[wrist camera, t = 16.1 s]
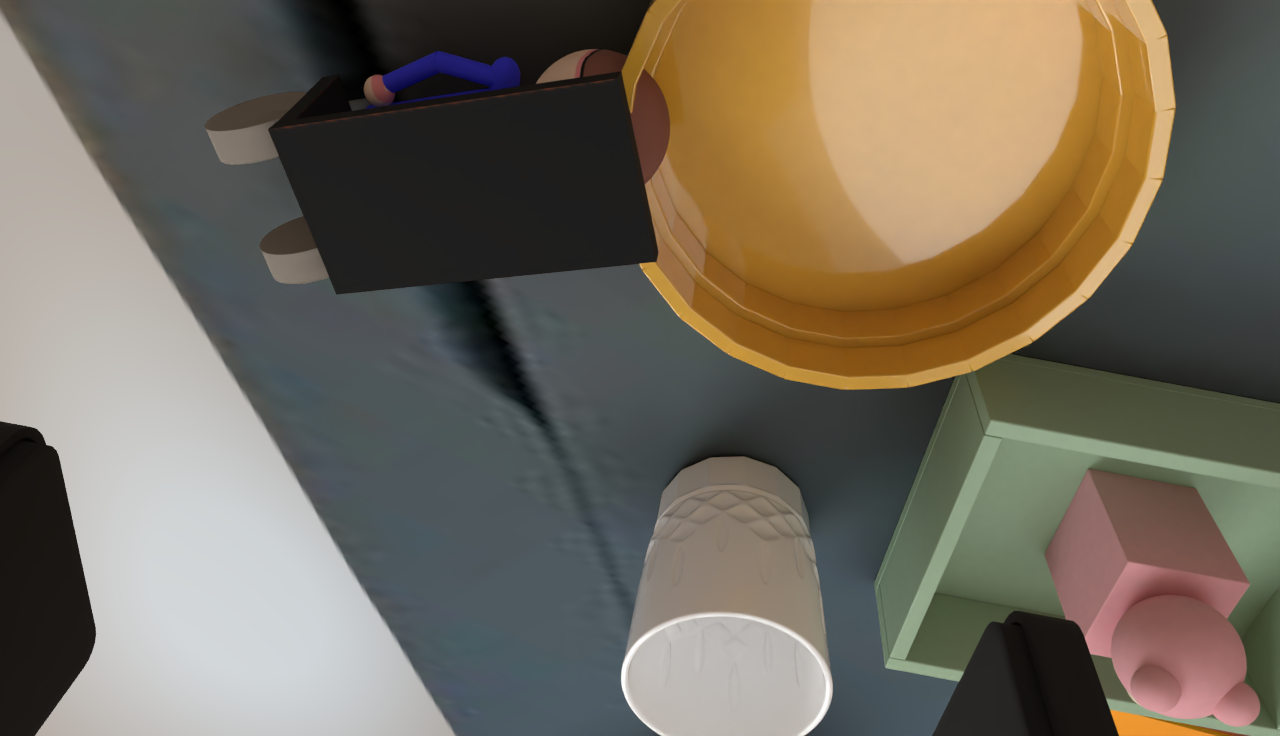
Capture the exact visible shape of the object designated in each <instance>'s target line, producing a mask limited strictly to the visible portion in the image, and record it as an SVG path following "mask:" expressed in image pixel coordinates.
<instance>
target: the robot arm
mask: <svg viewBox="0 0 1280 736" xmlns="http://www.w3.org/2000/svg"><path fill="white" fill-rule="evenodd" d="M95 637H96V628H95V623H94V619H93V614H92V609H91V604H90V600H89V595H88V590H87V586H86V581H85V576H84V572H83V567H82V563H81V558H80V554H79V548H78V544H77V539H76V534H75V530H74V526H73V520H72V516H71V511H70V506H69V502H68V498H67V493H66V488H65V483H64V478H63V474H62V469H61V464H60V460H59V456H58V453H57V451H56V450H55V449H54V448H53V447H52V446H48V445H46V443H45V440H44V438H43V435H42V434H41V433H40V432H39V431H38V430H37V429H35V428H32V427H27V426H22V425H17V424H11V423H6V422H0V736H35V735H36V733H37V732H38V730H39V729H40V728H41V726H42V725H43V723H44V722H45V720H46V719H47V718H48V717H49V715H50V714H51V712H52V711H53V710H54V708H55V707H56V705H57V704H58V702H59V701H60V700H61V698H62V697H63V695H64V694H65V693H66V692H67V690H68V689H69V687H70V686H71V685H72V683H73V682H74V680H75V679H76V678H77V676H78V675H79V674H80V672H81V671H82V669H83V668H84V666H85V664H86V663H87V661H88V660H89V658H90V655H91V653H92V650H93V647H94V643H95ZM933 736H1119V734H1118V731H1117V728H1116V726H1115V723H1114V720H1113V717H1112V714H1111V711H1110V708H1109V706H1108V703H1107V700H1106V697H1105V694H1104V691H1103V689H1102V686H1101V683H1100V680H1099V677H1098V674H1097V671H1096V669H1095V666H1094V663H1093V660H1092V657H1091V654H1090V651H1089V649H1088V646H1087V643H1086V640H1085V637H1084V634H1083V632H1082V630H1081V629H1080V627H1079V625H1078V624H1076V623H1075V622H1074V621H1071V620H1066V619H1060V618H1055V617H1050V616H1044V615H1039V614H1034V613H1028V612H1023V611H1013V612H1012V613H1010V614H1009V615H1008V617H1007V618H1006V620H1005V621H1004V623H1001V622H994V621H992V622H991V623H989V624H988V626H987V627H986V629H985V630H984V633H983V635H982V637H981V639H980V641H979V643H978V645H977V647H976V649H975V651H974V653H973V655H972V657H971V659H970V661H969V663H968V665H967V667H966V669H965V671H964V673H963V675H962V677H961V679H960V681H959V683H958V685H957V687H956V689H955V691H954V693H953V695H952V697H951V699H950V701H949V703H948V705H947V707H946V709H945V711H944V713H943V715H942V717H941V719H940V721H939V723H938V725H937V727H936V730H935V732H934V734H933Z"/></svg>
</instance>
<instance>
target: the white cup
mask: <svg viewBox="0 0 1280 736" xmlns="http://www.w3.org/2000/svg"><path fill="white" fill-rule="evenodd" d="M621 684H622V689H623V693H624V696H625V698H626V700H627V702H628V704H629V706H630V707H631V709H632V710H633V712H634V713H635V714H636V715H637V717H638V718H639V719H640V720H641V721H642V722H643V723H644V724H646V725H647V726H648V727H649V728H651V729H652V730H653V731H655V732H656V733H658V734H659V735H661V736H805V735H806V734H808V733H809V732H810V731H811V730H813V729H814V728H815V727H816V726H817V725H818V724H819V722H820V721H821V720H822V719H823V717H824V716H825V714H826V712H827V711H828V708H829V706H830V703H831V699H832V694H833V682H832V675H831V667H830V659H829V652H828V643H827V635H826V627H825V619H824V610H823V602H822V595H821V590H820V583H819V577H818V572H817V564H816V557H815V551H814V546H813V542H812V539H811V535H810V526H809V517H808V512H807V509H806V506H805V504H804V501H803V498H802V495H801V492H800V489H799V487H798V486H797V485H795V484H794V483H793V482H792V481H791V480H790V479H789V478H788V477H787V476H785V475H784V474H783V473H782V472H781V471H780V470H779V469H778V468H776V467H774V466H771V465H768V464H766V463H763V462H760V461H757V460H754V459H751V458H748V457H745V456H739V457H711V458H708V459H705V460H703V461H701V462H699V463H696V464H694V465H692V466H689V467H687V468H685V469H682V470H681V471H680V472H679V473H678V474H677V475H676V477H675V478H674V479H673V480H672V481H671V482H670V484H669V485H668V486H667V487H666V488H665V489H664V491H663V492H662V496H661V502H660V507H659V512H658V517H657V522H656V526H655V529H654V533H653V536H652V538H651V540H650V541H649V547H648V550H647V554H646V558H645V562H644V566H643V572H642V576H641V579H640V583H639V587H638V592H637V598H636V603H635V608H634V612H633V617H632V622H631V627H630V632H629V636H628V641H627V646H626V651H625V656H624V661H623V665H622V671H621Z"/></svg>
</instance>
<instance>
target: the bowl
mask: <svg viewBox="0 0 1280 736" xmlns="http://www.w3.org/2000/svg"><path fill="white" fill-rule="evenodd" d="M643 69H645V70H646V71H647V72H648V73H649V74H650V75H651V77H652V78H654V79H655V81H656V82H657V84H658V85H659V87H660V89H661V90H662V93H663V95H664V97H665V100H666V103H667V106H668V110H669V117H670V137H669V143H668V148H667V151H666V154H665V156H664V159H663V161H662V163H661V165H660V166H659V168H658V170H657V171H656V173H655V174H654V175H653V176H652V178H651V179H650V180H649V181H648V182H647V183H646V184H645V188H646V193H647V198H648V203H649V207H650V212H651V217H652V222H653V227H654V232H655V236H656V241H657V246H658V251H659V254H658V258H657V262H650V263H640V264H639V265H640V267H641V269H642V270H643V272H644V273H645V275H646V276H647V277H648V278H649V280H650V281H651V282H652V283H653V285H654V286H655V287H656V289H657V290H658V291H659V292H660V294H661V295H662V296H663V297H664V299H665V300H666V301H667V303H668V304H669V305H670V306H671V308H672V309H673V310H674V311H675V313H676V314H677V315H678V316H679V317H680V318H681V319H682V320H683V321H685V322H686V323H687V324H688V325H690V326H691V327H692V328H694V329H695V330H696V331H698V332H699V333H700V334H702V335H703V336H704V337H706V338H707V339H708V340H709V341H711V342H712V343H713V344H715V345H716V346H717V347H719V348H720V349H721V350H723V351H724V352H725V353H728V354H729V355H730V356H733V357H735V358H737V359H740V360H742V361H744V362H747V363H749V364H751V365H753V366H756V367H758V368H760V369H763V370H765V371H767V372H770V373H772V374H774V375H776V376H779V377H781V378H783V377H784V379H787V380H793V381H798V382H803V383H809V384H814V385H820V386H825V387H831V388H836V389H841V390H844V389H846V390H856V389H886V388H908V386H909V387H914V386H918V385H922V384H926V383H930V382H934V381H938V380H942V379H946V378H950V377H954V376H958V375H962V374H966V373H970V372H972V371H975V370H978V369H980V368H982V367H984V366H986V365H988V364H990V363H992V362H994V361H996V360H998V359H1000V358H1002V357H1004V356H1006V355H1008V354H1010V353H1012V352H1015V351H1017V350H1019V349H1021V348H1023V347H1025V346H1027V345H1029V344H1031V343H1032V342H1033V341H1036V340H1037V339H1038V338H1040V337H1041V336H1042V335H1043V334H1045V333H1046V332H1047V331H1049V330H1050V329H1051V328H1052V327H1054V326H1055V325H1056V324H1057V323H1059V322H1060V321H1061V320H1063V319H1064V318H1065V317H1066V316H1068V315H1069V314H1070V313H1071V312H1073V311H1074V310H1075V309H1077V308H1078V307H1079V306H1080V305H1082V304H1083V303H1084V302H1085V301H1087V299H1089V298H1090V297H1091V296H1092V295H1093V293H1094V292H1095V291H1096V290H1097V288H1098V287H1099V286H1100V285H1101V284H1102V282H1103V281H1104V280H1105V279H1106V277H1107V276H1108V275H1109V274H1110V272H1111V271H1112V270H1113V269H1114V267H1115V266H1116V265H1117V264H1118V263H1119V261H1120V260H1121V259H1122V258H1123V256H1124V255H1125V254H1126V253H1127V251H1128V250H1129V249H1130V248H1131V246H1132V245H1133V244H1132V243H1134V241H1135V239H1136V237H1137V235H1138V232H1139V230H1140V228H1141V226H1142V224H1143V222H1144V220H1145V218H1146V215H1147V213H1148V211H1149V209H1150V207H1151V205H1152V203H1153V200H1154V198H1155V196H1156V194H1157V192H1158V190H1159V188H1160V186H1161V183H1162V181H1163V179H1162V178H1164V174H1165V168H1166V162H1167V156H1168V151H1169V145H1170V139H1171V134H1172V128H1173V122H1174V116H1175V111H1176V109H1175V107H1176V100H1175V91H1174V83H1173V74H1172V66H1171V58H1170V49H1169V41H1168V35H1167V31H1166V29H1165V27H1164V25H1163V23H1162V21H1161V18H1160V16H1159V14H1158V12H1157V10H1156V8H1155V6H1154V3H1153V1H1152V0H651V2H650V4H649V6H648V9H647V11H646V13H645V16H644V18H643V20H642V23H641V25H640V27H639V29H638V32H637V34H636V36H635V39H634V41H633V43H632V46H631V48H630V51H629V53H628V56H627V58H626V61H625V63H624V65H623V68H622V70H621V72H622V76H623V81H624V86H625V91H626V96H627V101H628V106H629V110H630V113H632V112H633V107H634V102H635V97H636V92H637V87H638V83H639V79H640V76H641V74H642V71H643Z"/></svg>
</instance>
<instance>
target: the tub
mask: <svg viewBox="0 0 1280 736" xmlns="http://www.w3.org/2000/svg"><path fill="white" fill-rule="evenodd" d="M1088 469H1094V470H1100V471H1105V472H1110V473H1116V474H1121V475H1127V476H1132V477H1137V478H1143V479H1148V480H1154V481H1159V482H1164V483H1170V484H1175V485H1181V486H1186V487H1191V488H1196V489H1197V491H1198V492H1199V494H1200V496H1201V498H1202V499H1203V501H1204V503H1205V505H1206V506H1207V508H1208V510H1209V512H1210V514H1211V515H1212V517H1213V519H1214V521H1215V522H1216V524H1217V526H1218V528H1219V529H1220V531H1221V533H1222V535H1223V537H1224V538H1225V540H1226V542H1227V544H1228V545H1229V547H1230V549H1231V551H1232V552H1233V554H1234V556H1235V558H1236V559H1237V561H1238V563H1239V565H1240V567H1241V568H1242V570H1243V572H1244V574H1245V575H1246V577H1247V579H1248V581H1249V582H1250V586H1249V587H1248V589H1247V590H1246V591H1245V593H1244V594H1243V596H1242V597H1241V599H1240V600H1239V602H1238V603H1237V605H1236V606H1235V608H1234V609H1233V611H1232V612H1231V613H1230V615H1229V616H1228V618H1227V620H1228V621H1229V622H1230V623H1231V624H1232V626H1233V627H1234V628H1235V630H1236V631H1237V633H1238V635H1239V637H1240V639H1241V641H1242V643H1243V646H1244V650H1245V654H1246V663H1247V670H1246V676H1245V680H1244V683H1246V684H1247V685H1249V686H1250V687H1251V688H1252V689H1253V690H1254V691H1255V693H1256V694H1257V696H1258V698H1259V702H1260V712H1259V715H1258V717H1257V718H1256V719H1255V720H1254V721H1253V722H1252V723H1251V724H1249V725H1246V726H1242V727H1235V726H1230V725H1227V724H1225V723H1223V722H1221V721H1220V720H1218V719H1217V718H1216V717H1215V716H1214V715H1213V714H1212V715H1210V716H1207V717H1203V718H1197V719H1179V718H1172V717H1168V716H1165V715H1162V714H1159V713H1157V712H1154V711H1150V710H1147V709H1145V708H1144V707H1142V706H1140V705H1138V704H1137V703H1136V702H1134V701H1133V700H1132V698H1131V697H1130V696H1129V694H1128V692H1127V690H1126V689H1125V687H1124V686H1123V684H1122V683H1121V681H1120V679H1119V678H1118V676H1117V674H1116V671H1115V668H1114V665H1113V662H1112V658H1110V657H1104V656H1099V655H1093V654H1091V657H1092V660H1093V663H1094V666H1095V669H1096V671H1097V674H1098V677H1099V680H1100V683H1101V686H1102V689H1103V691H1104V694H1105V697H1106V700H1107V703H1108V706H1109V708H1110V710H1115V711H1120V712H1125V713H1131V714H1136V715H1142V716H1147V717H1152V718H1158V719H1163V720H1168V721H1174V722H1179V723H1185V724H1190V725H1195V726H1201V727H1206V728H1211V729H1217V730H1222V731H1227V732H1233V733H1238V734H1244V735H1249V736H1280V404H1278V403H1273V402H1267V401H1262V400H1257V399H1251V398H1246V397H1240V396H1235V395H1229V394H1224V393H1219V392H1213V391H1208V390H1202V389H1197V388H1192V387H1186V386H1181V385H1175V384H1170V383H1164V382H1159V381H1154V380H1148V379H1143V378H1137V377H1132V376H1127V375H1121V374H1116V373H1110V372H1105V371H1099V370H1094V369H1089V368H1083V367H1078V366H1072V365H1067V364H1062V363H1056V362H1051V361H1045V360H1040V359H1034V358H1029V357H1024V356H1018V355H1013V354H1008V355H1006V356H1004V357H1002V358H1000V359H998V360H996V361H994V362H992V363H990V364H988V365H986V366H984V367H982V368H980V369H978V370H975V371H972V372H970V373H966V374H962V375H958V376H955V378H954V381H953V383H952V386H951V388H950V391H949V394H948V396H947V399H946V401H945V404H944V406H943V409H942V411H941V414H940V416H939V419H938V422H937V424H936V427H935V429H934V432H933V434H932V437H931V439H930V442H929V445H928V447H927V450H926V452H925V455H924V457H923V460H922V462H921V465H920V468H919V470H918V473H917V475H916V478H915V480H914V483H913V485H912V488H911V490H910V493H909V496H908V498H907V501H906V503H905V506H904V508H903V511H902V513H901V516H900V519H899V521H898V524H897V526H896V529H895V531H894V534H893V536H892V539H891V542H890V544H889V547H888V549H887V552H886V554H885V557H884V559H883V562H882V564H881V567H880V570H879V572H878V575H877V577H876V580H875V582H874V586H875V592H876V600H877V608H878V615H879V623H880V631H881V639H882V647H883V654H884V662H885V667H886V668H889V669H895V670H900V671H905V672H911V673H916V674H921V675H927V676H932V677H938V678H943V679H948V680H954V681H960V679H961V677H962V675H963V673H964V671H965V669H966V667H967V665H968V663H969V661H970V659H971V657H972V655H973V653H974V651H975V649H976V647H977V645H978V643H979V641H980V639H981V637H982V635H983V633H984V630H985V629H986V627H987V626H988V624H989V623H991V622H992V621H994V622H1001V623H1004V621H1005V620H1006V618H1007V617H1008V615H1009V614H1010V613H1012V612H1013V611H1023V612H1028V613H1034V614H1039V615H1044V616H1050V617H1055V618H1060V619H1066V618H1065V615H1064V612H1063V609H1062V606H1061V603H1060V600H1059V597H1058V594H1057V591H1056V588H1055V585H1054V582H1053V579H1052V576H1051V573H1050V570H1049V567H1048V564H1047V561H1046V558H1045V555H1044V554H1045V552H1046V550H1047V548H1048V546H1049V544H1050V542H1051V540H1052V538H1053V536H1054V534H1055V532H1056V531H1057V529H1058V527H1059V525H1060V523H1061V521H1062V519H1063V517H1064V515H1065V513H1066V511H1067V509H1068V507H1069V505H1070V503H1071V501H1072V499H1073V497H1074V495H1075V493H1076V491H1077V489H1078V488H1079V486H1080V484H1081V482H1082V480H1083V478H1084V476H1085V474H1086V472H1087V470H1088Z"/></svg>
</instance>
